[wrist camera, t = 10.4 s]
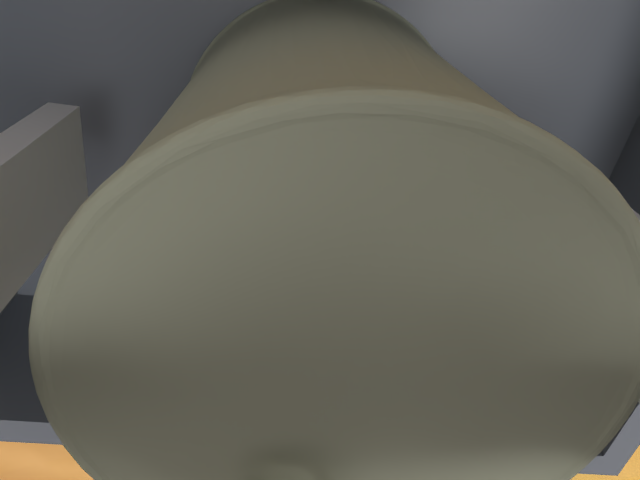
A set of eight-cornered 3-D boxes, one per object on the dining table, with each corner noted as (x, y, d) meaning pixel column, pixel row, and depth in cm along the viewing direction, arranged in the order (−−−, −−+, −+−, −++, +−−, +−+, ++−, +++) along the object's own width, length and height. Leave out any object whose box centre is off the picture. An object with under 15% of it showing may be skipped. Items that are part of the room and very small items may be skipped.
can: (162, 214, 19) (-4, 553, 8) (218, -60, 14) (12, -59, 4) (389, 275, 20) (484, 615, 10) (502, 49, 16) (868, 244, 6)
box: (753, -110, 15) (1060, -145, 9) (536, 341, 24) (617, 475, 18) (-114, -284, 12) (-500, -496, 6) (8, 296, 21) (-105, 435, 15)
